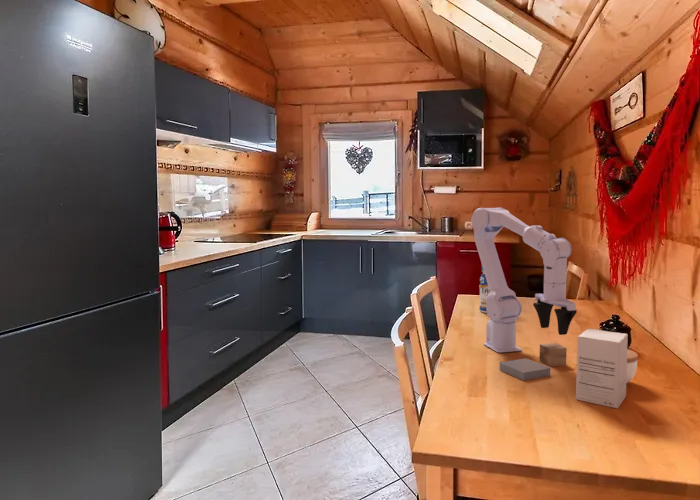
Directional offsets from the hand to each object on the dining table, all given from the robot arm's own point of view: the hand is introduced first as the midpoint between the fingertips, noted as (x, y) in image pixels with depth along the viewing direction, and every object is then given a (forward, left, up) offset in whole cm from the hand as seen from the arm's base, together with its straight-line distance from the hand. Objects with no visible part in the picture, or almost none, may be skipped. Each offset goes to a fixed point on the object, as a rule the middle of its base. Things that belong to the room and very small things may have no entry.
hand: (553, 330), depth 139 cm
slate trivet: (+4, -12, -10) cm, 16 cm away
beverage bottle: (-66, +16, -10) cm, 68 cm away
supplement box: (+24, -5, -10) cm, 27 cm away
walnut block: (-1, 0, -10) cm, 10 cm away
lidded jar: (+16, +5, -10) cm, 20 cm away
